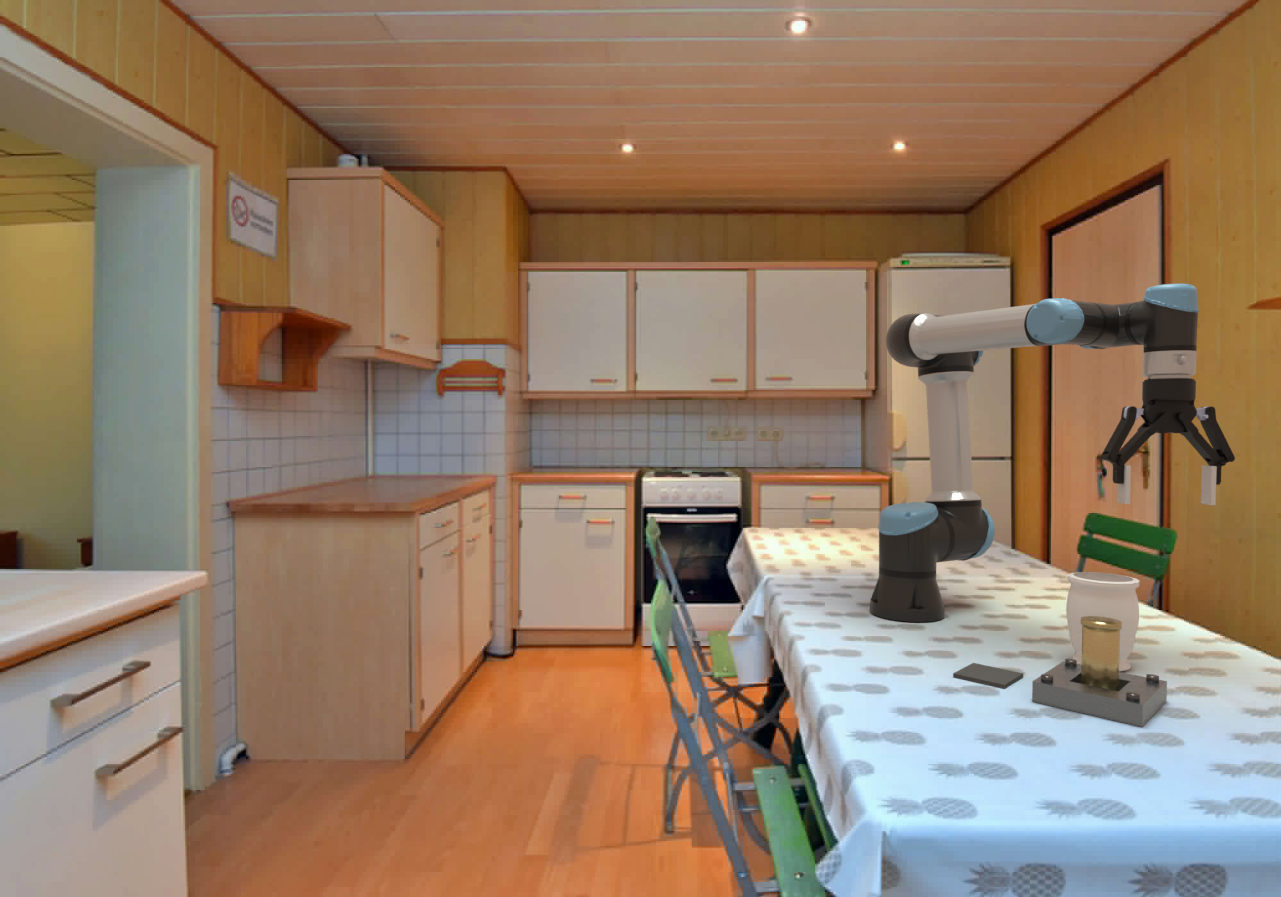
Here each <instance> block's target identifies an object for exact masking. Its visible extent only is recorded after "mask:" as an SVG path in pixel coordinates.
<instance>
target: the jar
mask: <svg viewBox="0 0 1281 897" xmlns="http://www.w3.org/2000/svg"><path fill="white" fill-rule="evenodd" d="M1066 578H1067V581H1068V583H1070V586H1069V589H1068V593H1067V597H1066V608H1065V610H1066V611H1065V613H1066V620H1067V626H1068V627H1067V628H1068V634H1069V640H1070V642H1071V645H1072V648H1073V649H1074V651H1075V654H1073V655H1072V657H1071V659H1074V660H1077V664H1081V661H1082V625H1081V617H1084V616H1100V617H1107V618H1113V619H1116V620H1119V621H1121V622H1122V629H1120V658H1119V672H1125V671H1128V670H1130V669H1131V664H1130V662H1129V661H1128V658H1129V657H1130V655H1131V654H1132V651H1133V649H1134V647H1135V644H1136V643H1135V642H1136V635H1137V631H1138V628H1139V622H1140V605H1139V599H1138V594H1137V592H1136V591H1137V590H1136V589H1138V588H1139V587H1140V585H1141V584H1140V581H1141V580H1140V579H1138V578H1135V577H1131V576H1128V575H1123V574H1117V573H1111V572H1110V573H1109V572H1097V571H1096V572H1095V571H1078V572H1076V571H1075V572H1070V573H1068V574H1067V577H1066Z"/></svg>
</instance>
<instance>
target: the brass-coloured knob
mask: <svg viewBox="0 0 1281 897" xmlns="http://www.w3.org/2000/svg"><path fill="white" fill-rule="evenodd" d="M1081 625H1082V661H1081V684H1085V685H1089V686H1094V687H1099V688H1104V689H1109V690H1113V691H1118V692H1119V658H1120V629H1122V622H1121V621H1119V620H1116V619H1113V618H1107V617H1100V616H1084V617H1081Z"/></svg>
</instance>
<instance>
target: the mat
mask: <svg viewBox="0 0 1281 897" xmlns="http://www.w3.org/2000/svg"><path fill="white" fill-rule="evenodd" d="M952 677H953V678H956V679H961V680H965V681H969V682H973V683H978V684H982V685H985V686H986V685H987V686H991V687H995V688H1001V689H1003V690H1004V689H1007V688H1009V686H1012V685H1013V684H1014V683H1017V682H1018V681H1020V679H1024V672H1020V671H1014V670H1008V669H1005V668H999V667H995V666H990V665H985V664H980V663H975V662H973V663H970V664H968V665H967V666H964V667H962V668H961V669H959V670H957V671H955V672H953V673H952Z"/></svg>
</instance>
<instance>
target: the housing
mask: <svg viewBox="0 0 1281 897" xmlns="http://www.w3.org/2000/svg"><path fill="white" fill-rule="evenodd" d="M1031 692H1032V693H1031V694H1032V695H1031V696H1032V698H1031V702H1033V703H1036V704H1037V703H1038V704H1040V705H1046V706H1050V707H1054V708H1059V709H1062V710H1068V711H1070V712H1071V711H1072V712H1076V713H1079V714H1084V715H1089V716H1093V717H1097V718H1101V719H1104V720H1105V719H1106V720H1110V721H1113V722H1119V723H1123V724H1128V725H1132V726H1135V727H1141V728H1143V727H1144V726H1145V725H1146V724H1147V723H1148V722H1149V721H1150V720H1151V719H1152V717H1154V715H1155V714H1156V713H1157V712H1158V711H1159V710H1161V708H1162V707H1163V706H1164V705H1165V704H1166V703H1167V701H1168V700H1167V695H1168V694H1167V692H1168V681H1167V680H1163V679H1160V676H1159V675H1157V674H1152V673H1147V674H1146V675H1145V676H1142V675H1137V674H1131V673H1127V672H1123V671H1120V672H1119V692H1118V691H1113V690H1109V689H1104V688H1099V687H1094V686H1089V685H1085V684H1081V664H1077V660H1074V659H1072V658H1065V659H1064V660H1063V661H1061V662H1060V663H1058V664H1057V665H1055V666H1053V668H1051V669H1049V670H1047V671H1046V672H1044V673H1042V674H1040V676H1038V677H1037V678H1035V679H1034V680H1032V690H1031Z"/></svg>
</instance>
